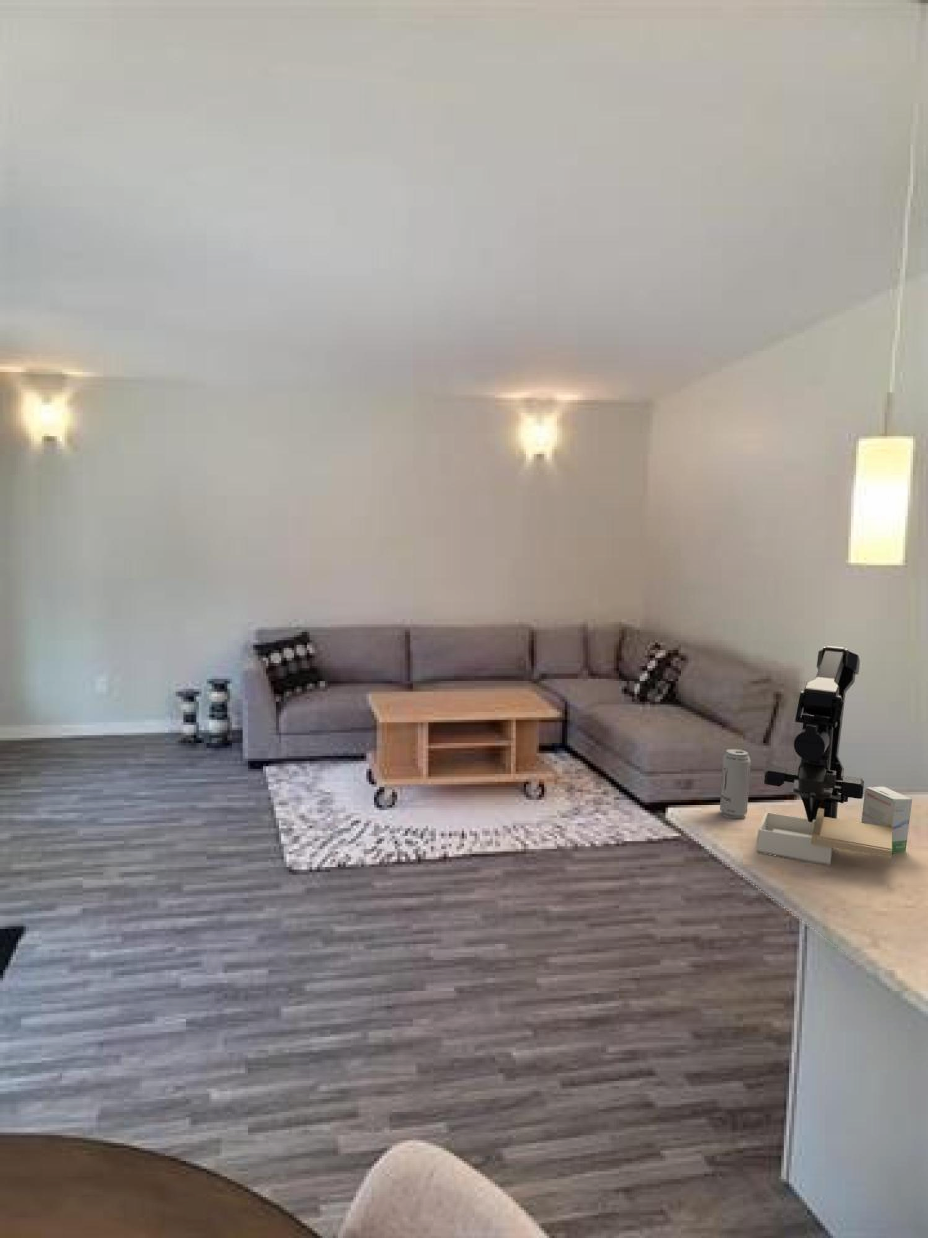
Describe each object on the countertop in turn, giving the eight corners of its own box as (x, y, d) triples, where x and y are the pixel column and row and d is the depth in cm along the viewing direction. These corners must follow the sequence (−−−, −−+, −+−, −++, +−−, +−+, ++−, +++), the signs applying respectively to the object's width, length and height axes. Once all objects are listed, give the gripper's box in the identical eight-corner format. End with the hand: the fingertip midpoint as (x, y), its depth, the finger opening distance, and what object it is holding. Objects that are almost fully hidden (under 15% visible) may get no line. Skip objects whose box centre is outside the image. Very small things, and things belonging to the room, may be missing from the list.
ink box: (858, 839, 190) (862, 786, 188) (877, 837, 191) (882, 785, 190) (888, 854, 182) (893, 799, 180) (908, 852, 183) (913, 797, 182)
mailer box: (764, 833, 192) (765, 811, 191) (833, 846, 186) (835, 823, 185) (756, 852, 181) (758, 829, 180) (829, 866, 175) (831, 842, 174)
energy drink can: (716, 810, 206) (720, 748, 204) (741, 810, 206) (745, 748, 204) (724, 819, 200) (728, 755, 198) (750, 819, 200) (755, 755, 198)
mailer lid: (816, 821, 188) (817, 805, 187) (891, 834, 181) (892, 817, 181) (811, 844, 175) (812, 826, 175) (891, 858, 169) (892, 840, 168)
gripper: (763, 751, 176) (758, 825, 178) (865, 765, 168) (858, 843, 170) (770, 738, 186) (765, 809, 188) (866, 751, 178) (860, 825, 180)
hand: (810, 821), depth 181 cm, fingers closed
